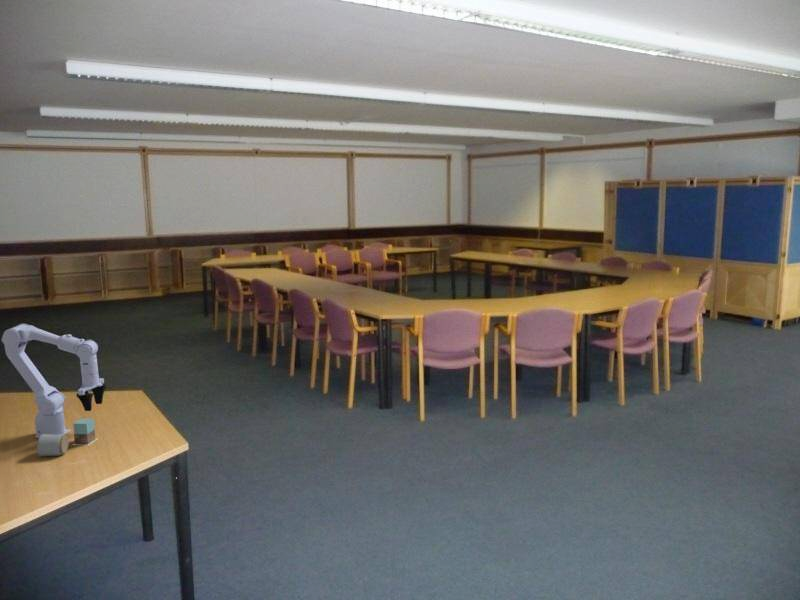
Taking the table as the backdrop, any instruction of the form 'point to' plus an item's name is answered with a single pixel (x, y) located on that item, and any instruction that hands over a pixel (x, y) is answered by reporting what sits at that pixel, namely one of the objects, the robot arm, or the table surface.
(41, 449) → the ceramic mug
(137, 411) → the table surface
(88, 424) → the teal block
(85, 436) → the walnut block
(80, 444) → the mat
